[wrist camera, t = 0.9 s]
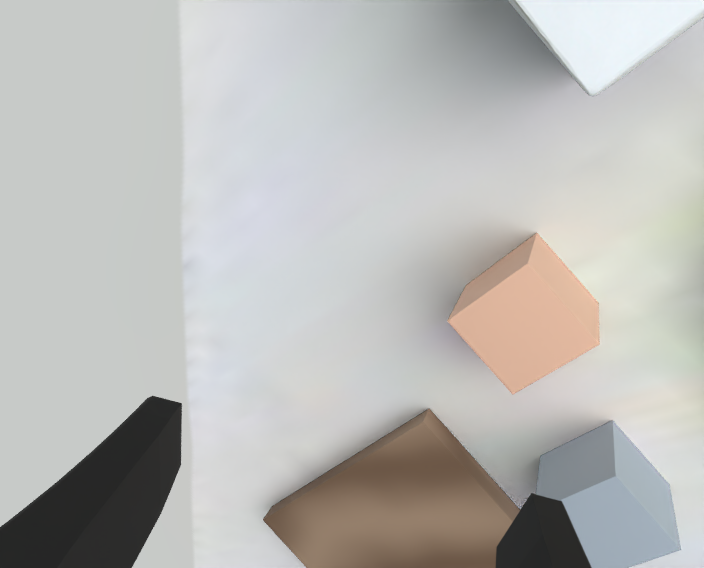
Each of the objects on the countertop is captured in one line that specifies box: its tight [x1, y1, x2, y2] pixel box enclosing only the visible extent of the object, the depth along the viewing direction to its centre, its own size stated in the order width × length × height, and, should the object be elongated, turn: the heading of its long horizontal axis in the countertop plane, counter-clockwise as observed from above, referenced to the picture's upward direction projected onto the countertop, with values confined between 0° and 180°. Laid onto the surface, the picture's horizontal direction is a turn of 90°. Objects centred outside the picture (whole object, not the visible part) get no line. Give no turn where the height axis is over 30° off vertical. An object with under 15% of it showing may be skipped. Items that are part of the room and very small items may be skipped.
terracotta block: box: [447, 233, 600, 394], centre depth 23 cm, size 4×4×4 cm
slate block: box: [536, 420, 681, 568], centre depth 25 cm, size 4×4×4 cm
